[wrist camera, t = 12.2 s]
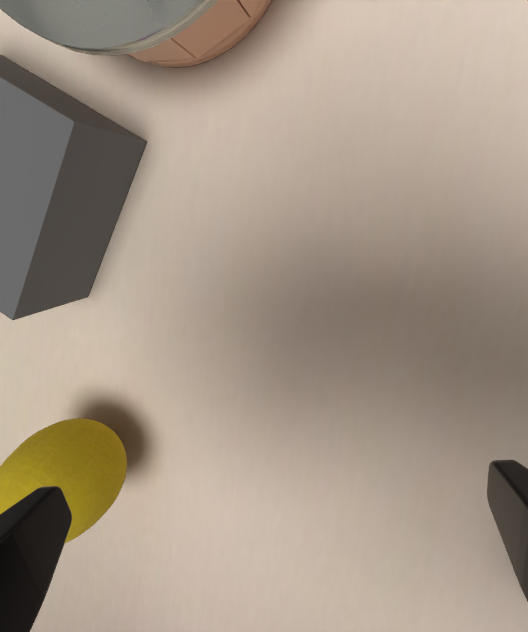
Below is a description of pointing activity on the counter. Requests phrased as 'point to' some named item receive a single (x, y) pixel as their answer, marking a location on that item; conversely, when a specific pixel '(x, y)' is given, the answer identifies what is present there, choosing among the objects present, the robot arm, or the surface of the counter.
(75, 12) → the lid
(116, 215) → the block
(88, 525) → the lemon
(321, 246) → the counter surface
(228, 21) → the bowl
